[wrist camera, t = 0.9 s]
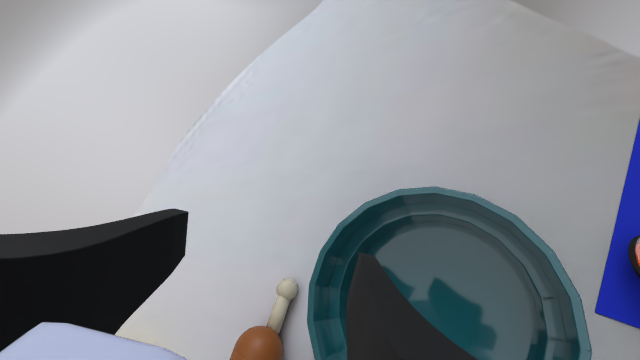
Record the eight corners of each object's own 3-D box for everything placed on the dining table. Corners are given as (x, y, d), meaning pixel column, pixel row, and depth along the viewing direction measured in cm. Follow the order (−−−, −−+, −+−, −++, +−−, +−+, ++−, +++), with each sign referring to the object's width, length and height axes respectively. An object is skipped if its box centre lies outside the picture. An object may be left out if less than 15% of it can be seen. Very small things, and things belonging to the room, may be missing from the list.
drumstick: (267, 432, 25) (234, 455, 21) (231, 405, 27) (196, 421, 23) (314, 287, 27) (291, 287, 23) (278, 271, 29) (252, 269, 25)
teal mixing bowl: (535, 492, 18) (557, 565, 13) (314, 363, 25) (277, 380, 20) (581, 238, 20) (613, 222, 15) (369, 189, 28) (347, 168, 23)
